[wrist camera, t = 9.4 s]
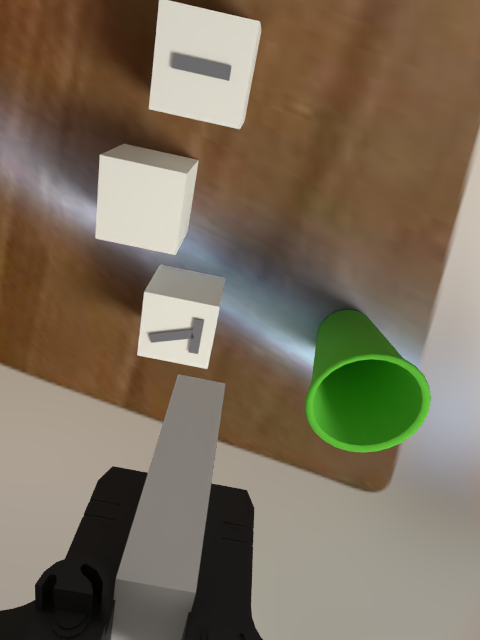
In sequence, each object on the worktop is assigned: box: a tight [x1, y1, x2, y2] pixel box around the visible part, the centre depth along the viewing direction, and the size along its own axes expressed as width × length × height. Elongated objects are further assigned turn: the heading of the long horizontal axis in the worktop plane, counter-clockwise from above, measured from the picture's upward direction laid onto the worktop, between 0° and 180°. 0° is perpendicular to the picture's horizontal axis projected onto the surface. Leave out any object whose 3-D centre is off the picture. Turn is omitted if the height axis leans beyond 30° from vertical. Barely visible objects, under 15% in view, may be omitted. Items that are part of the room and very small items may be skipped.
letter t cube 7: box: [137, 264, 226, 369], centre depth 40 cm, size 6×6×6 cm
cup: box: [305, 310, 431, 452], centre depth 38 cm, size 9×9×11 cm
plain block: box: [95, 144, 198, 255], centre depth 35 cm, size 6×6×6 cm
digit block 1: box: [149, 0, 261, 129], centre depth 31 cm, size 6×6×6 cm
